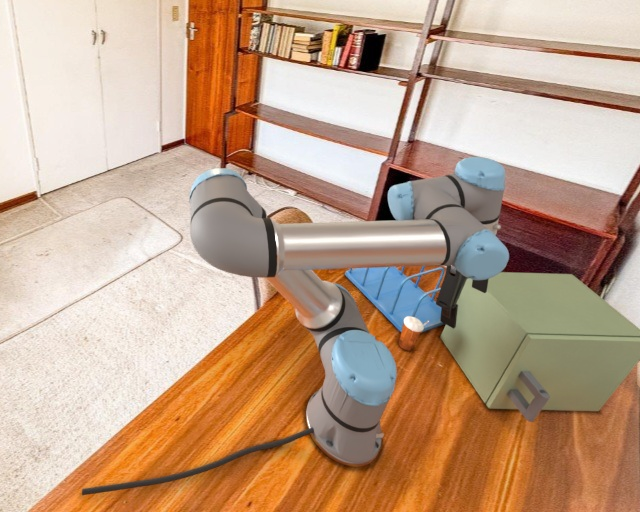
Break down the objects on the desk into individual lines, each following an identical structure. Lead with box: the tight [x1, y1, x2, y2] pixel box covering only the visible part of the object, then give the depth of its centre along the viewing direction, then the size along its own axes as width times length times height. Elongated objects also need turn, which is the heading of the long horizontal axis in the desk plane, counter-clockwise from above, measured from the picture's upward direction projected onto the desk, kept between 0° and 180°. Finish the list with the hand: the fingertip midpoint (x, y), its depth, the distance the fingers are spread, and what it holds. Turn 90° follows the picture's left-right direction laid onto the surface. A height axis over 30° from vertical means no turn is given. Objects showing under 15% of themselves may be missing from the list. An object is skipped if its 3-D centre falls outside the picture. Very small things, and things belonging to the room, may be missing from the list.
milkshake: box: [398, 316, 429, 351], centre depth 103 cm, size 4×5×10 cm
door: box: [485, 334, 640, 423], centre depth 83 cm, size 7×26×23 cm, turn 90°
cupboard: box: [440, 271, 640, 404], centre depth 95 cm, size 18×26×24 cm
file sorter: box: [344, 266, 446, 333], centre depth 117 cm, size 25×17×15 cm
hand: (464, 306), depth 88 cm, fingers open, 13 cm apart
